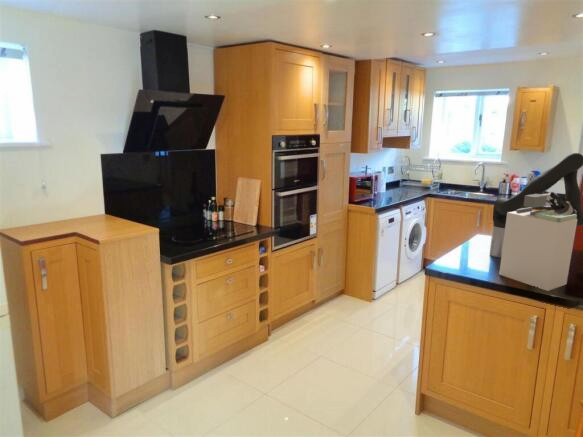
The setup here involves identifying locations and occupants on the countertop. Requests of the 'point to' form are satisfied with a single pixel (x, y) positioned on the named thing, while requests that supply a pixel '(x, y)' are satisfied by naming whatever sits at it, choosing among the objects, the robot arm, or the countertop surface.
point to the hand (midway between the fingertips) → (548, 193)
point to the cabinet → (538, 247)
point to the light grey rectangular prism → (537, 200)
